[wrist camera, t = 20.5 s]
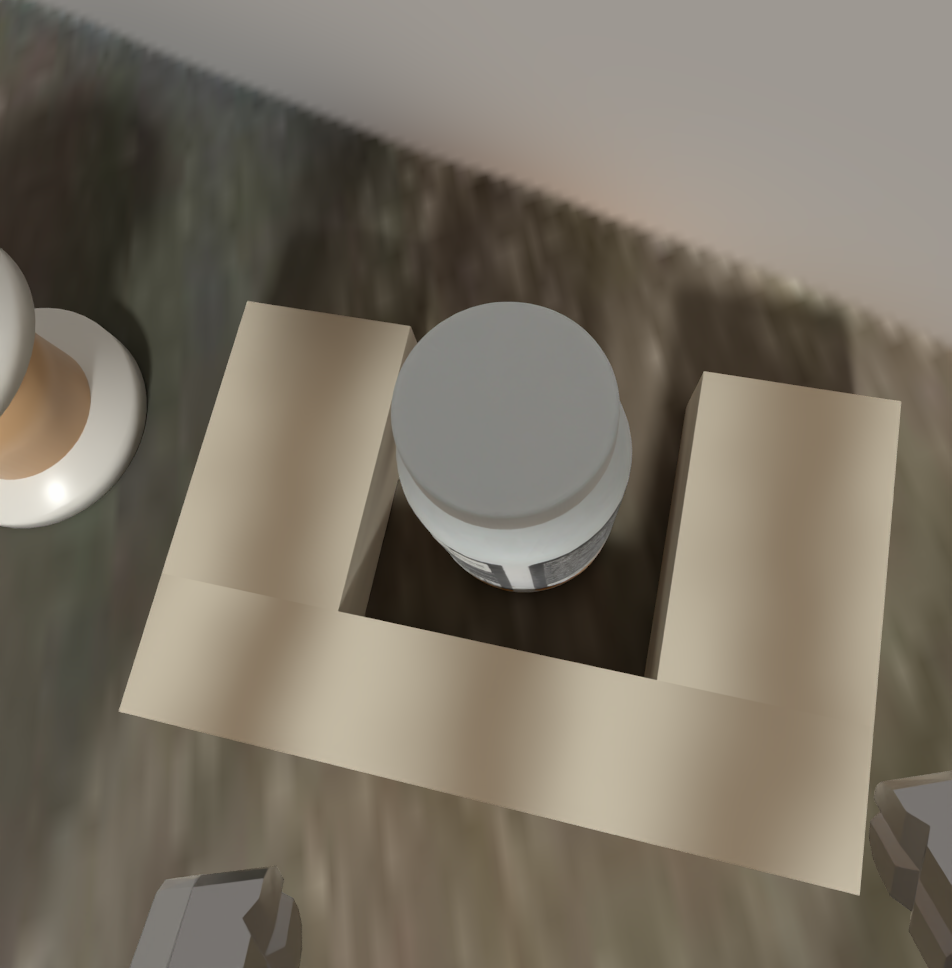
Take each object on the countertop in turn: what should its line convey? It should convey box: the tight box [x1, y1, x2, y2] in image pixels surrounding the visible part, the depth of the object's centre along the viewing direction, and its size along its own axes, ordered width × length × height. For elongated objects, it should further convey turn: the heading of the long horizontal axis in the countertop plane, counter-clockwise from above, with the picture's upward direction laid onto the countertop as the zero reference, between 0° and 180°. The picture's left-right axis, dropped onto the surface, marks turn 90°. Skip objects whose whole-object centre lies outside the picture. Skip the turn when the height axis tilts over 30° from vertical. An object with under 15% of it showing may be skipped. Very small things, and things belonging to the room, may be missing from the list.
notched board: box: [119, 301, 901, 895], centre depth 22 cm, size 20×13×3 cm, turn 79°
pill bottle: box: [391, 302, 632, 592], centre depth 20 cm, size 6×6×10 cm
